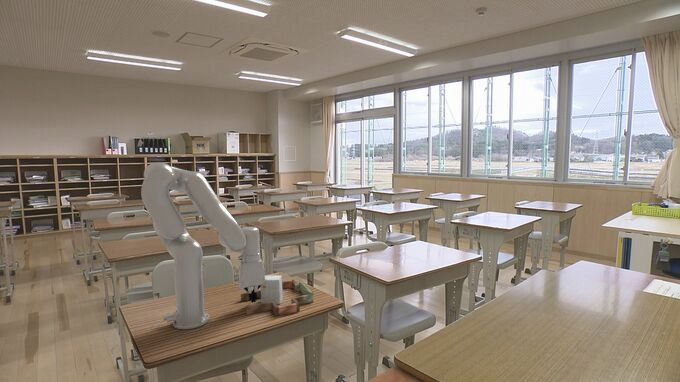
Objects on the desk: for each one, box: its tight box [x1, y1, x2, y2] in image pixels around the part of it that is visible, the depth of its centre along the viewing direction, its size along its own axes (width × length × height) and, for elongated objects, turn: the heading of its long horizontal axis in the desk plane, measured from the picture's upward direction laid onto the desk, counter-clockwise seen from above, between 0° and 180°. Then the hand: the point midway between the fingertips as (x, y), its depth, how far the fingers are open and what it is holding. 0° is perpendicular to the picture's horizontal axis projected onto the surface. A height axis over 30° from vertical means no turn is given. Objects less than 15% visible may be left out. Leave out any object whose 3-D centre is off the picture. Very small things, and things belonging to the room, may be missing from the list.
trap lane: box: [240, 279, 315, 316], centre depth 156 cm, size 27×28×4 cm
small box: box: [260, 274, 284, 305], centre depth 155 cm, size 8×6×10 cm
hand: (252, 301), depth 152 cm, fingers closed
